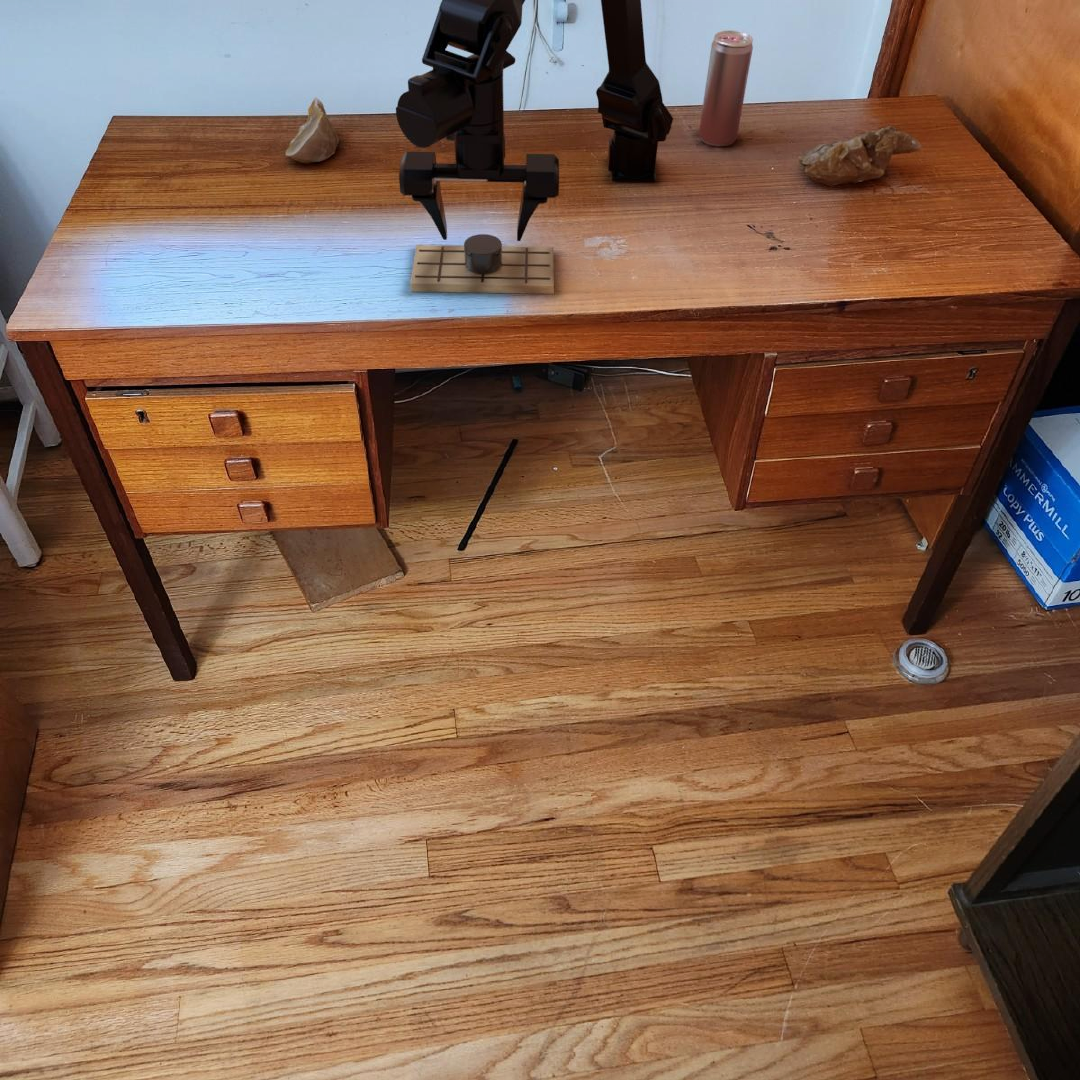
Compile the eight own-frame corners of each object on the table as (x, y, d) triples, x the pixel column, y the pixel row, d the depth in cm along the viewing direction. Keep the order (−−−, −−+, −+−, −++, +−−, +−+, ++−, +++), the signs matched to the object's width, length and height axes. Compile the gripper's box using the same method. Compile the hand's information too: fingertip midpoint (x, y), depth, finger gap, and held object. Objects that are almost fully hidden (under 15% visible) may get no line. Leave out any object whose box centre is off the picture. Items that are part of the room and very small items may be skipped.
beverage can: (698, 128, 152) (713, 28, 141) (736, 131, 152) (754, 31, 141) (697, 146, 148) (712, 44, 137) (736, 149, 148) (754, 47, 137)
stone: (286, 127, 136) (300, 76, 145) (282, 167, 140) (296, 115, 150) (337, 140, 137) (347, 89, 147) (331, 179, 142) (341, 128, 152)
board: (553, 255, 127) (553, 246, 126) (553, 293, 121) (553, 284, 120) (417, 252, 127) (416, 243, 126) (410, 291, 121) (410, 282, 120)
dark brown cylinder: (502, 253, 125) (502, 234, 122) (501, 274, 121) (501, 254, 119) (465, 253, 124) (464, 233, 122) (463, 273, 121) (462, 254, 119)
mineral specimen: (849, 202, 151) (788, 192, 142) (844, 155, 150) (783, 143, 141) (925, 174, 140) (865, 162, 131) (920, 124, 140) (859, 108, 131)
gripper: (559, 85, 114) (555, 207, 126) (402, 82, 114) (413, 204, 125) (561, 128, 107) (556, 253, 118) (393, 125, 106) (405, 250, 118)
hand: (482, 238), depth 120 cm, fingers open, 9 cm apart
